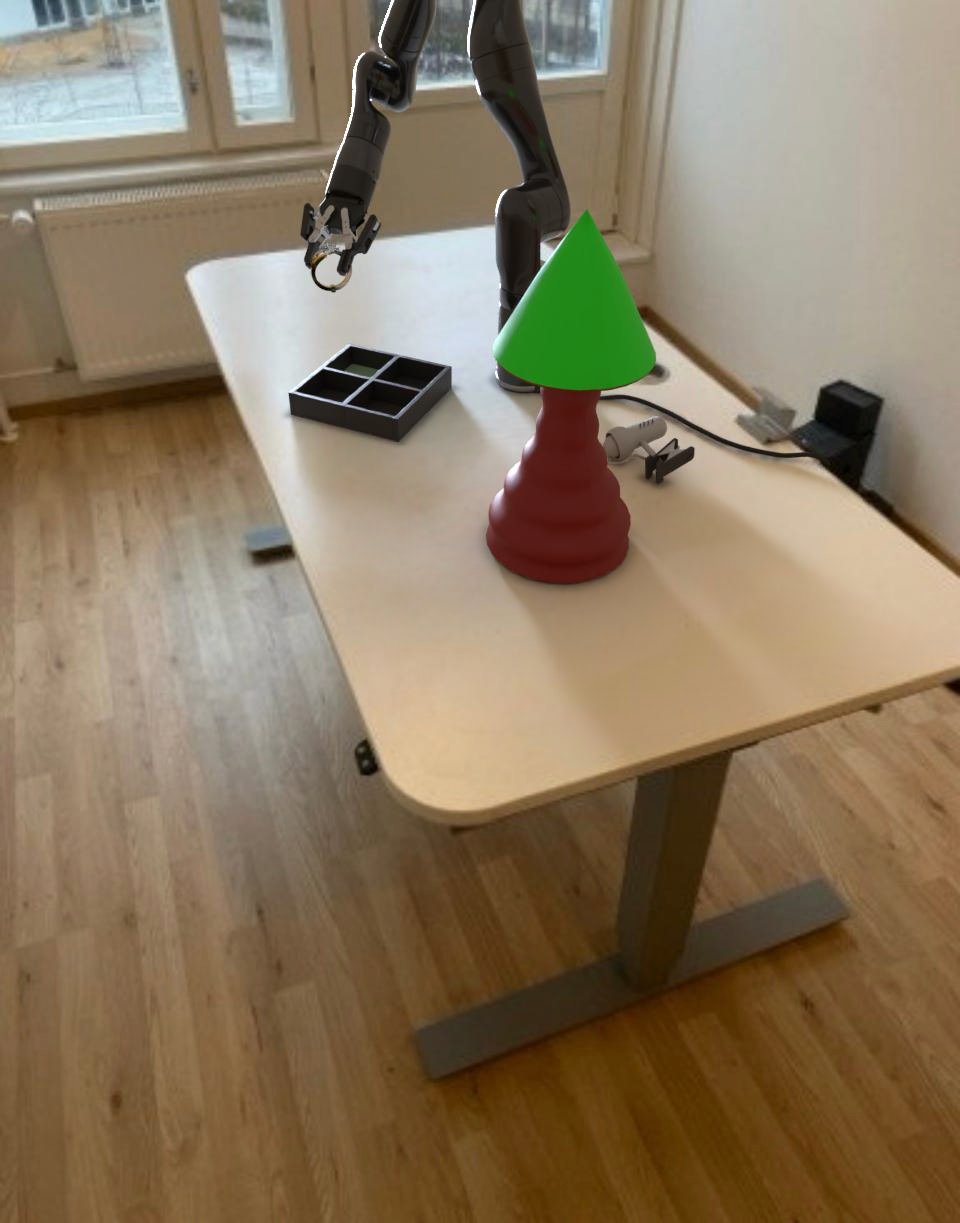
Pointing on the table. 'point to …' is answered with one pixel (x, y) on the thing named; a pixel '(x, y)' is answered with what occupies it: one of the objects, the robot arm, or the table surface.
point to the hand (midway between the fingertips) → (325, 270)
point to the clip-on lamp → (647, 447)
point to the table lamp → (568, 414)
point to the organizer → (371, 391)
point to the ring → (317, 259)
